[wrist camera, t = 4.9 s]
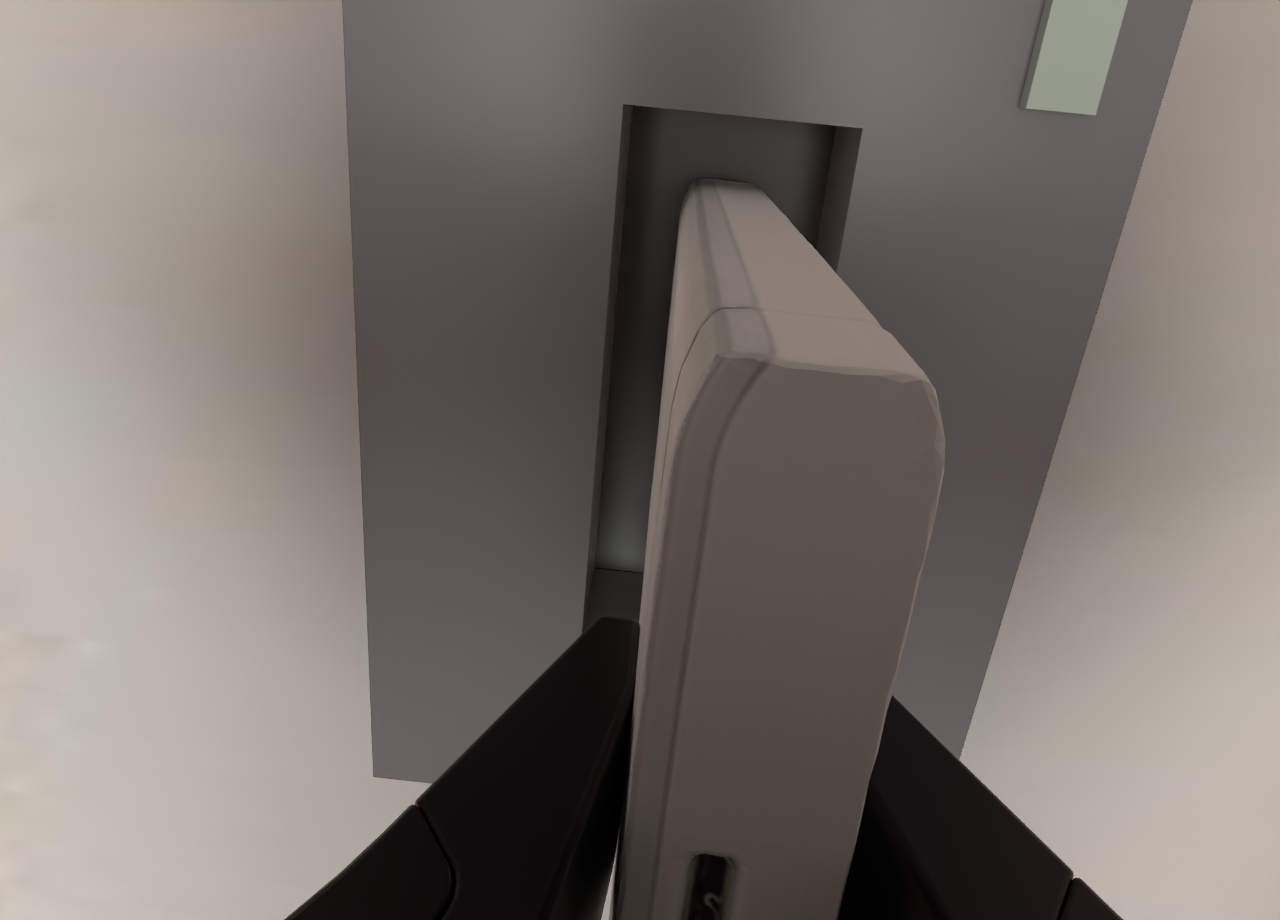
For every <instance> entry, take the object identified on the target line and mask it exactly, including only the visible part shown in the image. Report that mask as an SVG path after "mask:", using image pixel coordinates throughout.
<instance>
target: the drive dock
mask: <svg viewBox="0 0 1280 920" xmlns="http://www.w3.org/2000/svg"><path fill="white" fill-rule="evenodd" d="M1192 1H1193V0H342V7H343V32H344V57H345V82H346V107H347V132H348V156H349V181H350V206H351V231H352V256H353V281H354V306H355V331H356V355H357V380H358V405H359V430H360V455H361V480H362V505H363V530H364V554H365V579H366V604H367V629H368V654H369V679H370V704H371V729H372V754H373V777H379V778H388V779H397V780H406V781H415V782H424V783H434V782H435V781H436V780H437V779H438V778H439V777H440V776H441V775H442V774H443V773H444V772H445V771H446V770H447V769H448V768H449V767H450V766H451V765H452V764H453V763H454V762H455V761H456V760H457V759H458V758H459V757H460V756H461V755H462V754H463V753H464V752H465V751H466V750H467V749H468V748H469V747H470V746H471V745H472V744H473V743H474V742H475V741H476V740H477V739H478V738H479V737H480V736H481V735H482V734H483V733H484V732H485V731H486V730H487V729H488V728H489V727H490V726H491V725H492V724H493V723H494V722H495V721H496V720H497V719H498V718H499V717H500V716H501V715H502V714H503V713H504V712H505V711H506V710H507V709H508V708H509V707H510V706H511V705H512V704H513V703H514V702H515V701H516V700H517V699H518V698H519V697H520V696H521V695H522V694H523V693H524V692H525V691H526V690H527V689H528V688H529V687H530V686H531V685H532V684H533V683H534V682H535V681H536V680H537V679H538V678H539V677H540V676H541V675H542V674H543V673H544V672H545V671H546V670H547V669H548V668H549V667H550V666H551V665H552V664H553V663H554V662H555V661H556V660H557V659H558V658H559V657H560V656H561V655H562V654H563V653H564V652H565V651H566V650H567V649H568V648H569V647H570V646H571V645H572V644H573V643H574V642H575V641H576V640H577V639H578V638H579V637H580V636H581V635H582V634H583V633H584V632H585V631H586V630H587V629H588V628H589V627H590V626H591V625H592V624H593V623H594V622H595V621H596V620H597V619H598V618H599V617H602V616H609V617H618V618H627V619H634V620H636V621H638V622H639V618H640V608H641V598H642V588H643V577H644V574H641V573H632V572H623V571H613V570H604V569H595V557H596V545H597V533H598V521H599V509H600V496H601V484H602V472H603V460H604V448H605V436H606V423H607V411H608V399H609V387H610V375H611V362H612V350H613V338H614V326H615V314H616V302H617V289H618V277H619V265H620V253H621V241H622V229H623V216H624V204H625V192H626V180H627V168H628V155H629V143H630V131H631V119H632V107H633V105H636V106H646V107H656V108H666V109H676V110H686V111H696V112H706V113H716V114H725V115H735V116H745V117H755V118H765V119H775V120H785V121H795V122H805V123H814V124H824V125H834V126H837V127H836V133H835V139H834V145H833V151H832V157H831V162H830V168H829V174H828V180H827V186H826V192H825V198H824V203H823V209H822V215H821V221H820V227H819V233H818V239H817V244H816V251H818V253H819V254H820V255H821V256H822V257H823V258H824V260H825V261H826V262H827V263H828V264H829V266H830V267H831V268H832V269H833V270H834V272H835V273H836V274H837V275H838V276H839V277H840V278H841V279H842V280H843V282H844V283H845V284H846V285H847V286H848V287H849V288H850V289H851V291H852V292H853V293H854V294H855V295H856V296H857V298H858V299H859V300H860V301H861V302H862V303H863V305H864V306H865V307H866V308H867V309H868V310H869V312H870V313H871V314H872V315H873V316H874V317H875V319H876V320H877V321H878V323H879V324H880V326H881V327H882V328H883V329H884V330H886V331H887V332H889V333H891V334H892V335H893V336H894V338H895V339H896V340H897V341H898V342H899V344H900V345H901V346H902V347H903V348H904V350H905V351H906V352H907V353H908V354H909V355H910V357H911V358H912V359H913V360H914V361H915V362H916V363H917V365H918V366H919V367H920V368H921V369H922V370H923V371H924V373H925V374H926V376H927V378H928V379H929V381H930V382H931V384H932V385H933V387H934V388H935V390H936V394H937V399H938V404H939V409H940V413H941V419H942V424H943V430H944V436H945V461H944V475H943V480H942V485H941V490H940V496H939V501H938V506H937V511H936V516H935V521H934V526H933V530H932V534H931V538H930V542H929V546H928V550H927V554H926V558H925V562H924V566H923V569H922V573H921V577H920V581H919V585H918V589H917V593H916V597H915V601H914V606H913V611H912V615H911V620H910V625H909V630H908V634H907V637H906V641H905V645H904V648H903V652H902V656H901V660H900V664H899V668H898V673H897V677H896V681H895V686H894V690H893V693H892V695H893V696H894V697H895V698H896V699H897V700H898V701H899V702H900V703H901V704H902V705H903V706H904V707H905V708H906V709H907V710H908V711H909V712H910V713H911V714H912V715H913V716H914V717H915V718H916V719H918V720H919V721H920V722H921V723H922V724H923V725H924V726H925V727H926V728H927V729H928V730H929V731H930V732H931V733H932V734H933V735H934V736H935V737H936V738H937V739H938V740H939V741H940V742H941V743H942V744H943V745H944V746H945V747H946V748H947V749H948V750H949V751H950V752H951V753H952V754H953V755H954V756H955V757H956V758H957V759H958V760H959V758H960V755H961V752H962V748H963V745H964V742H965V739H966V735H967V732H968V729H969V726H970V722H971V719H972V716H973V713H974V709H975V706H976V703H977V700H978V696H979V693H980V690H981V687H982V683H983V680H984V677H985V674H986V670H987V667H988V664H989V661H990V657H991V654H992V651H993V648H994V644H995V641H996V638H997V635H998V631H999V628H1000V625H1001V622H1002V618H1003V615H1004V612H1005V609H1006V605H1007V602H1008V599H1009V596H1010V592H1011V589H1012V586H1013V583H1014V579H1015V576H1016V573H1017V570H1018V566H1019V563H1020V560H1021V557H1022V553H1023V550H1024V547H1025V544H1026V540H1027V537H1028V534H1029V531H1030V527H1031V524H1032V521H1033V518H1034V514H1035V511H1036V508H1037V505H1038V501H1039V498H1040V495H1041V492H1042V488H1043V485H1044V482H1045V479H1046V475H1047V472H1048V469H1049V466H1050V462H1051V459H1052V456H1053V453H1054V449H1055V446H1056V443H1057V440H1058V436H1059V433H1060V430H1061V427H1062V423H1063V420H1064V417H1065V414H1066V410H1067V407H1068V404H1069V401H1070V397H1071V394H1072V391H1073V388H1074V384H1075V381H1076V378H1077V375H1078V371H1079V368H1080V365H1081V362H1082V358H1083V355H1084V352H1085V349H1086V345H1087V342H1088V339H1089V336H1090V332H1091V329H1092V326H1093V323H1094V319H1095V316H1096V313H1097V310H1098V306H1099V303H1100V300H1101V297H1102V293H1103V290H1104V287H1105V284H1106V280H1107V277H1108V274H1109V271H1110V267H1111V264H1112V261H1113V258H1114V254H1115V251H1116V248H1117V245H1118V241H1119V238H1120V235H1121V232H1122V228H1123V225H1124V222H1125V219H1126V215H1127V212H1128V209H1129V206H1130V202H1131V199H1132V196H1133V193H1134V189H1135V186H1136V183H1137V180H1138V176H1139V173H1140V170H1141V167H1142V163H1143V160H1144V157H1145V154H1146V150H1147V147H1148V144H1149V141H1150V137H1151V134H1152V131H1153V128H1154V124H1155V121H1156V118H1157V115H1158V111H1159V108H1160V105H1161V102H1162V98H1163V95H1164V92H1165V89H1166V85H1167V82H1168V79H1169V76H1170V72H1171V69H1172V66H1173V63H1174V59H1175V56H1176V53H1177V50H1178V46H1179V43H1180V40H1181V37H1182V33H1183V30H1184V27H1185V24H1186V20H1187V17H1188V14H1189V11H1190V7H1191V4H1192Z"/></svg>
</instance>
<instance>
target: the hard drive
mask: <svg viewBox="0 0 1280 920" xmlns="http://www.w3.org/2000/svg"><path fill="white" fill-rule="evenodd" d="M944 461H945V436H944V430H943V424H942V419H941V413H940V409H939V404H938V399H937V394H936V390H935V388H934V387H933V385H932V384H931V382H930V381H929V379H928V378H927V376H926V374H925V373H924V371H923V370H922V369H921V368H920V367H919V366H918V365H917V363H916V362H915V361H914V360H913V359H912V358H911V357H910V355H909V354H908V353H907V352H906V351H905V350H904V348H903V347H902V346H901V345H900V344H899V342H898V341H897V340H896V339H895V338H894V336H893V335H892V334H891V333H889V332H887V331H886V330H884V329H883V328H882V327H881V326H880V324H879V323H878V321H877V320H876V319H875V317H874V316H873V315H872V314H871V313H870V312H869V310H868V309H867V308H866V307H865V306H864V305H863V303H862V302H861V301H860V300H859V299H858V298H857V296H856V295H855V294H854V293H853V292H852V291H851V289H850V288H849V287H848V286H847V285H846V284H845V283H844V282H843V280H842V279H841V278H840V277H839V276H838V275H837V274H836V273H835V272H834V270H833V269H832V268H831V267H830V266H829V264H828V263H827V262H826V261H825V260H824V258H823V257H822V256H821V255H820V254H819V253H818V251H816V250H815V249H814V248H813V246H812V245H811V244H810V243H809V242H808V241H807V240H806V239H805V237H804V236H803V235H802V234H801V233H800V232H799V231H798V230H797V229H796V228H795V227H794V226H793V224H792V223H791V222H790V221H789V219H788V218H787V217H786V216H785V215H784V214H783V213H782V212H781V211H780V210H779V209H778V208H777V207H776V206H775V204H774V203H773V202H772V201H771V200H770V198H768V197H767V195H766V194H765V193H764V191H762V190H761V189H760V188H759V186H757V185H755V184H752V183H745V182H735V181H725V180H718V179H697V180H695V181H693V182H692V184H691V185H690V187H689V189H688V191H687V193H686V194H685V197H684V200H683V202H682V206H681V211H680V217H679V226H678V235H677V244H676V254H675V263H674V273H673V282H672V292H671V302H670V312H669V321H668V331H667V342H666V352H665V362H664V373H663V383H662V393H661V403H660V412H659V421H658V432H657V444H656V452H655V464H654V472H653V481H652V490H651V499H650V509H649V520H648V532H647V543H646V555H645V566H644V577H643V588H642V598H641V608H640V618H639V624H640V636H639V647H638V658H637V668H636V680H635V690H634V699H633V708H632V717H631V726H630V734H629V744H628V753H627V762H626V772H625V781H624V790H623V800H622V809H621V818H620V827H619V835H618V842H617V848H616V856H615V865H614V874H613V884H612V894H611V905H610V915H609V920H837V919H838V914H839V910H840V906H841V902H842V897H843V893H844V889H845V885H846V880H847V876H848V873H849V869H850V865H851V861H852V857H853V853H854V849H855V845H856V841H857V836H858V832H859V827H860V822H861V818H862V813H863V808H864V804H865V799H866V794H867V789H868V784H869V780H870V777H871V773H872V770H873V767H874V764H875V760H876V757H877V754H878V750H879V745H880V740H881V736H882V731H883V727H884V722H885V718H886V713H887V710H888V706H889V703H890V700H891V697H892V693H893V690H894V686H895V681H896V677H897V673H898V668H899V664H900V660H901V656H902V652H903V648H904V645H905V641H906V637H907V634H908V630H909V625H910V620H911V615H912V611H913V606H914V601H915V597H916V593H917V589H918V585H919V581H920V577H921V573H922V569H923V566H924V562H925V558H926V554H927V550H928V546H929V542H930V538H931V534H932V530H933V526H934V521H935V516H936V511H937V506H938V501H939V496H940V490H941V485H942V480H943V475H944Z"/></svg>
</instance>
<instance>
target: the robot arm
mask: <svg viewBox="0 0 1280 920" xmlns="http://www.w3.org/2000/svg"><path fill="white" fill-rule="evenodd" d="M639 636H640V624H639V622H638V621H636V620H634V619H627V618H618V617H609V616H602V617H599V618H598V619H597V620H596V621H595V622H594V623H593V624H592V625H591V626H590V627H589V628H588V629H587V630H586V631H585V632H584V633H583V634H582V635H581V636H580V637H579V638H578V639H577V640H576V641H575V642H574V643H573V644H572V645H571V646H570V647H569V648H568V649H567V650H566V651H565V652H564V653H563V654H562V655H561V656H560V657H559V658H558V659H557V660H556V661H555V662H554V663H553V664H552V665H551V666H550V667H549V668H548V669H547V670H546V671H545V672H544V673H543V674H542V675H541V676H540V677H539V678H538V679H537V680H536V681H535V682H534V683H533V684H532V685H531V686H530V687H529V688H528V689H527V690H526V691H525V692H524V693H523V694H522V695H521V696H520V697H519V698H518V699H517V700H516V701H515V702H514V703H513V704H512V705H511V706H510V707H509V708H508V709H507V710H506V711H505V712H504V713H503V714H502V715H501V716H500V717H499V718H498V719H497V720H496V721H495V722H494V723H493V724H492V725H491V726H490V727H489V728H488V729H487V730H486V731H485V732H484V733H483V734H482V735H481V736H480V737H479V738H478V739H477V740H476V741H475V742H474V743H473V744H472V745H471V746H470V747H469V748H468V749H467V750H466V751H465V752H464V753H463V754H462V755H461V756H460V757H459V758H458V759H457V760H456V761H455V762H454V763H453V764H452V765H451V766H450V767H449V768H448V769H447V770H446V771H445V772H444V773H443V774H442V775H441V776H440V777H439V778H438V779H437V780H436V781H435V782H434V783H433V784H432V785H431V786H430V787H429V788H428V789H427V790H426V791H425V792H424V793H423V794H422V795H421V796H420V797H419V798H418V799H417V800H416V802H415V805H411V806H409V807H408V808H407V809H406V810H405V811H404V812H403V813H402V814H401V815H400V816H399V817H398V818H397V819H396V820H395V821H394V822H393V823H392V824H391V825H390V826H389V827H388V828H387V829H386V830H385V831H384V832H383V833H382V834H381V835H380V836H379V837H378V838H377V839H376V840H375V841H374V842H373V843H371V844H370V845H369V846H368V847H367V848H366V849H365V850H364V851H363V852H362V853H361V854H360V855H359V856H358V857H357V858H355V859H354V860H353V861H352V862H351V863H350V864H349V865H348V866H347V867H346V868H345V869H344V870H343V871H342V872H341V873H339V874H338V875H337V876H336V877H335V878H333V879H332V880H331V881H330V882H329V883H327V884H326V885H325V886H324V887H323V888H321V889H320V890H319V891H318V892H317V893H316V894H314V895H313V896H312V897H311V898H310V899H308V900H307V901H306V902H305V903H304V904H302V905H301V906H300V907H299V908H298V909H296V910H295V911H294V912H293V913H292V914H290V915H289V916H288V917H287V918H286V919H284V920H601V917H602V912H603V908H604V903H605V899H606V895H607V890H608V886H609V882H610V877H611V873H612V869H613V864H614V858H615V853H616V848H617V842H618V835H619V827H620V818H621V809H622V800H623V790H624V781H625V772H626V762H627V753H628V744H629V734H630V726H631V717H632V708H633V699H634V690H635V680H636V668H637V658H638V647H639ZM1073 876H1074V875H1073V871H1072V870H1071V869H1070V868H1069V867H1068V866H1067V865H1066V864H1065V863H1064V862H1063V861H1062V860H1061V859H1060V858H1059V857H1058V856H1057V855H1056V854H1055V853H1054V852H1053V851H1052V850H1051V849H1050V848H1049V847H1048V846H1046V845H1045V844H1044V843H1043V842H1042V841H1041V840H1040V839H1039V838H1038V837H1037V836H1036V835H1035V834H1034V833H1033V832H1032V831H1031V830H1030V829H1029V828H1028V827H1027V826H1026V825H1025V824H1024V823H1023V822H1022V821H1021V820H1020V819H1019V818H1018V817H1017V816H1016V815H1015V814H1014V813H1013V812H1012V811H1011V810H1010V809H1009V808H1008V807H1007V806H1006V805H1005V804H1003V803H1002V802H1001V801H1000V800H999V799H998V798H997V797H996V796H995V795H994V794H993V793H992V792H991V791H990V790H989V789H988V788H987V787H986V786H985V785H984V784H983V783H982V782H981V781H980V780H979V779H978V778H977V777H976V776H975V775H974V774H973V773H972V772H971V771H970V770H969V769H968V768H967V767H966V766H965V765H964V764H963V763H962V762H960V761H959V760H958V759H957V758H956V757H955V756H954V755H953V754H952V753H951V752H950V751H949V750H948V749H947V748H946V747H945V746H944V745H943V744H942V743H941V742H940V741H939V740H938V739H937V738H936V737H935V736H934V735H933V734H932V733H931V732H930V731H929V730H928V729H927V728H926V727H925V726H924V725H923V724H922V723H921V722H920V721H919V720H918V719H916V718H915V717H914V716H913V715H912V714H911V713H910V712H909V711H908V710H907V709H906V708H905V707H904V706H903V705H902V704H901V703H900V702H899V701H898V700H897V699H896V698H895V697H894V696H893V695H892V697H891V700H890V703H889V706H888V710H887V713H886V718H885V722H884V727H883V731H882V736H881V740H880V745H879V750H878V754H877V757H876V760H875V764H874V767H873V770H872V773H871V777H870V780H869V784H868V789H867V794H866V799H865V804H864V808H863V813H862V818H861V822H860V827H859V832H858V836H857V841H856V845H855V849H854V853H853V857H852V861H851V865H850V869H849V873H848V876H847V880H846V885H845V889H844V893H843V897H842V902H841V906H840V910H839V914H838V919H837V920H1123V919H1122V918H1121V917H1120V916H1119V915H1118V914H1117V913H1116V912H1115V911H1113V910H1112V909H1111V908H1110V907H1109V906H1108V905H1107V904H1106V903H1105V902H1104V901H1103V900H1102V899H1101V898H1100V897H1099V896H1098V895H1097V894H1096V893H1095V892H1094V891H1093V890H1092V889H1091V888H1090V887H1089V886H1088V885H1087V884H1086V883H1085V882H1084V881H1083V880H1082V879H1080V878H1074V879H1073ZM1072 879H1073V880H1072Z"/></svg>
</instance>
